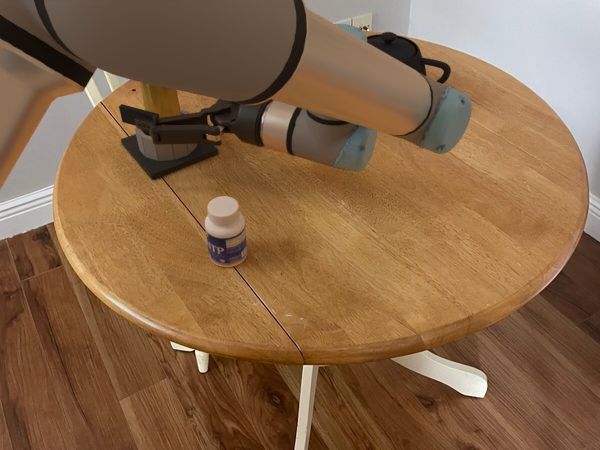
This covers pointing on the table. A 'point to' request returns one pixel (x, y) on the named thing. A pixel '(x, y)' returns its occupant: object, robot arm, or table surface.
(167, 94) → the vase
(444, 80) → the teapot
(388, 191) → the table surface
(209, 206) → the pill bottle
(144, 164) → the socket pad
